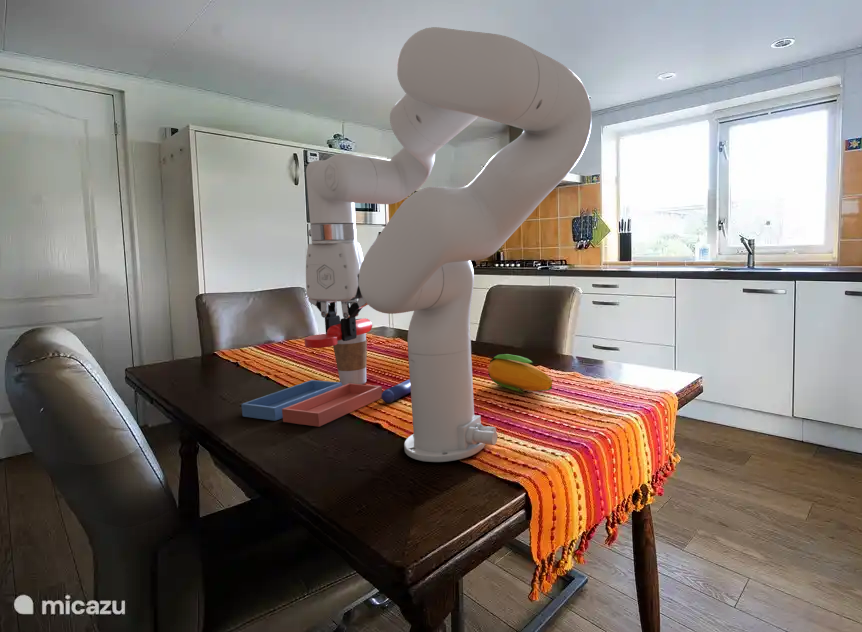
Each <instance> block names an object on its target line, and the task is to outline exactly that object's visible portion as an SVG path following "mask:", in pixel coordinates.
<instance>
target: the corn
mask: <svg viewBox="0 0 862 632" xmlns="http://www.w3.org/2000/svg"><path fill="white" fill-rule="evenodd" d="M487 371H488V373H487V375H488V377H489V378H490V380H491V381H492V382H493V383H495V384H497V385H498V386H500V387H502V388H505V389H508V390H511V391H515V392H518V393H523V394H525V392H524V390H525V391H533V392H534V391H538V392H543V391H544V392H546V391H550V390H552V389H553V379H552V377H551V376H550V375H548V374H547V373H546V372H544V371H542V370H541V369H539V368H538V367H537V366H534V364H533V361H532V360H531V359H529V358H528V357H524V356H521V355H517V354H516V355H515V354H509V353H504V354H503V353H502V354H497V355H495V356H494V357H493V358H491V359H490V360H489V365H488V367H487ZM522 390H523V391H522Z"/></svg>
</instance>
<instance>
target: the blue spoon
mask: <svg viewBox="0 0 862 632" xmlns="http://www.w3.org/2000/svg"><path fill="white" fill-rule="evenodd" d="M409 394H411V388H410V378H409V379H406V380H405V381H402V382H400V383H397V384H395V385H393V386H390V387H389V388H386V389H385V390H382V395H381V397H382V398H381V400H382V401H383V402H384V403H386V404H390V403H392V402H395V401H397V400H399V399H401V398H403V397H405V396H407V395H409Z"/></svg>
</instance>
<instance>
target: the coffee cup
mask: <svg viewBox="0 0 862 632" xmlns="http://www.w3.org/2000/svg"><path fill="white" fill-rule="evenodd" d="M359 319H360V318H356V320H359ZM340 324H341V320H340ZM337 342H338V343H337V345H334V346H332V348H333V353H334V359H335V363H336V368H337V373H338V379H339V382H341V383H342V386H343V385H346V384H348V383H352V384H363V385H365V383H367V362H368V361H367V354H368V339H367V333H364V334H360V335H357V337H356V338H355V339H352V340H348V341H343V340H339V341H337Z"/></svg>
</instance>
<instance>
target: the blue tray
mask: <svg viewBox="0 0 862 632" xmlns="http://www.w3.org/2000/svg"><path fill="white" fill-rule="evenodd" d="M341 386H342V383H341V382H340V381H328V380H316V379H310V380H307V381H304V382H301V383H298V384H296V385H293V386H290V387H287V388H284V389H281V390H278V391H275V392H272V393H270V394H266V395H264V396H261V397H258V398H254V399H252V400H249V401H246V402H243V403H240V405H241V406H240V407H241V415H242V417H245V418H253V419H259V420H265V421H266V420H267V421H274V422H276V421H279V420H281V419H283V414H282V409H283V408H286V407H289V406H291V405H294V404H296V403H299V402H302V401H304V400H307V399H309V398H312V397H315V396H317V395H320V394H322V393H325V392H328V391H330V390H333V389H335V388H338V387H341Z"/></svg>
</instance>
